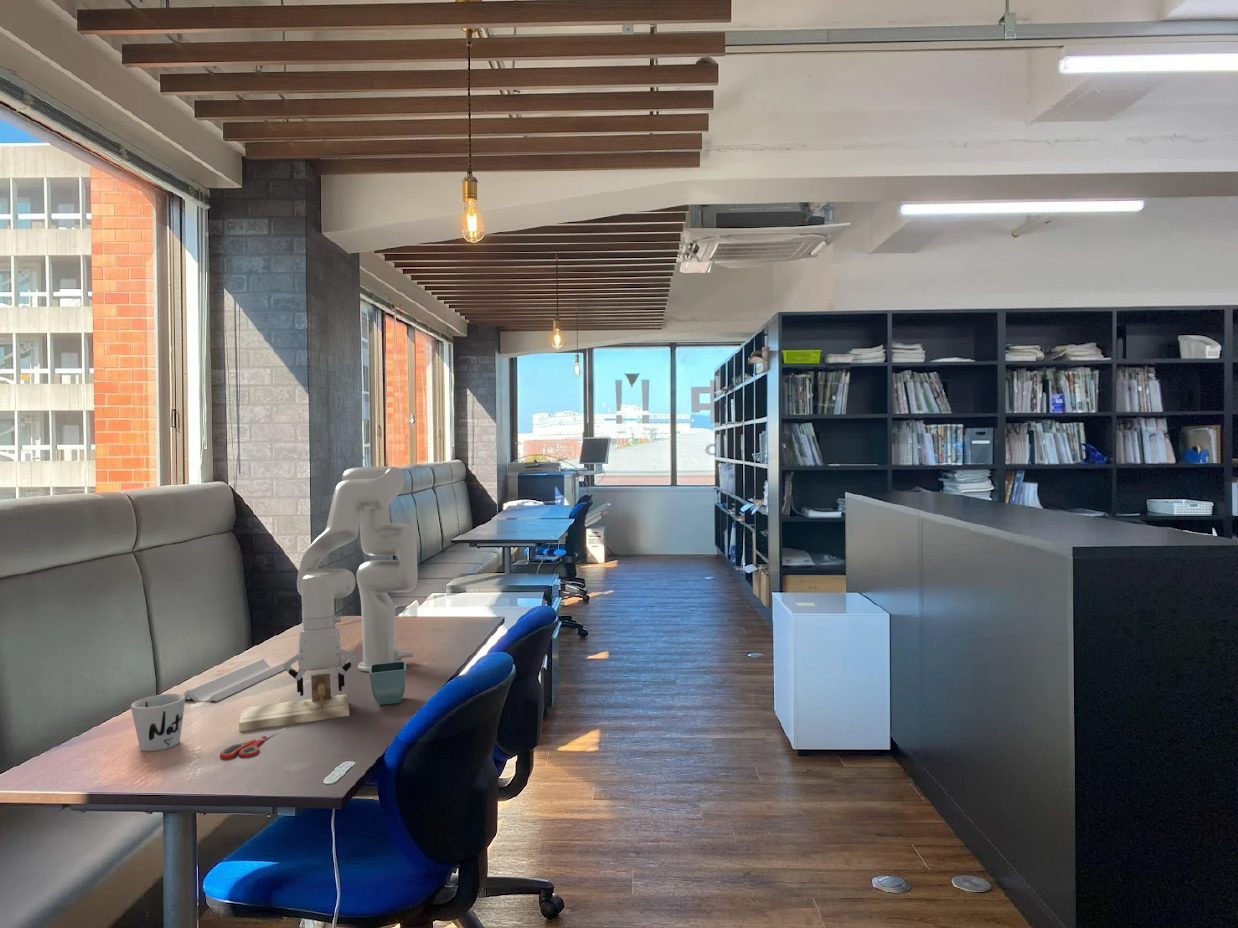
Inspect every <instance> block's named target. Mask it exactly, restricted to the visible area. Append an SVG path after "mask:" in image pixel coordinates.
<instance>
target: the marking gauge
mask: <svg viewBox="0 0 1238 928" xmlns="http://www.w3.org/2000/svg"><path fill="white" fill-rule="evenodd" d="M310 677H311V679H310V681H311V699H312V702H314V701H321V707H323V700H329V699H331V696H332V694H331V693H332V692H331V691H332V690H331V672H330V671H329V672H322V673H321V672H320V673H313V674H311V675H310Z"/></svg>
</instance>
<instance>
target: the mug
mask: <svg viewBox="0 0 1238 928" xmlns="http://www.w3.org/2000/svg"><path fill="white" fill-rule="evenodd" d="M185 703H186V700H185V696H184V695H183V694H181V693H180V694H179V693H165V694H164V693H163V694H157V695H151V696H148V697H147V696H146V697H144V698H141V699H138V700H136V701H134V702H132V703H131V704H130V709H131V710H130V711H131V714H132V719H133V723H134V727H135V732H136V736H137V741H138V746H139V749H140V750H141V751H143V752H150V753H151V752H159V751H164V750H168V749H171V748H173V747H175V746H177V745H179V743H180V741H181V735H182V727H183V719H184V711H185Z"/></svg>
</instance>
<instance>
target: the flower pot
mask: <svg viewBox="0 0 1238 928" xmlns="http://www.w3.org/2000/svg"><path fill="white" fill-rule="evenodd" d="M406 662H407V661H405V660H402V661H400V662H391V663H382V664H373V665H370V672H369V673H368V674H369V682H370V687H371V691H372V695H373V697H374V700H375V701H376V703H377V704H378V705H379V706H384V705H392V704H399V703H401V702H402V699H403V697H404V694H405V690H406V681H407V679H406V678H407V677H406V676H407V675H406V673H407V666H406V665H407V663H406Z"/></svg>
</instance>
